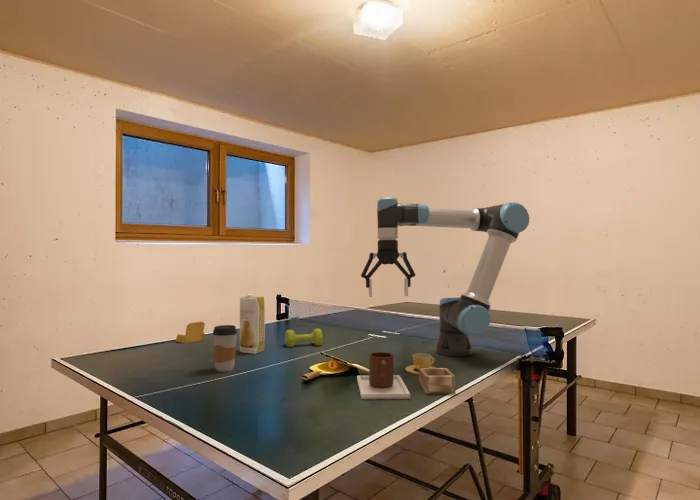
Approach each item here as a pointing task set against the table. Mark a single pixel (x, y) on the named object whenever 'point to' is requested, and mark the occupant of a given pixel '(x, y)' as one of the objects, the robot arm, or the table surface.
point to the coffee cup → (224, 347)
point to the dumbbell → (303, 337)
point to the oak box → (436, 380)
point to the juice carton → (252, 324)
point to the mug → (381, 369)
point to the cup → (420, 362)
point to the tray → (383, 389)
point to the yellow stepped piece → (192, 333)
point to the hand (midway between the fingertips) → (388, 296)
